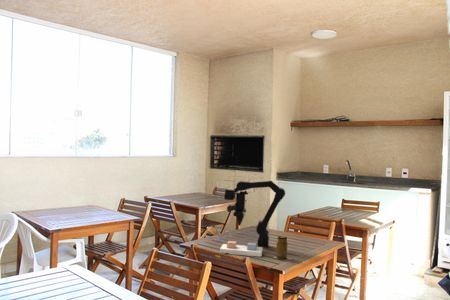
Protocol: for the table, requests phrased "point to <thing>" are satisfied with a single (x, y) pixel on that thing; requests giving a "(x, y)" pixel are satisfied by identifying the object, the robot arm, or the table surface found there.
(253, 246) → the slate key
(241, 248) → the key panel
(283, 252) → the condiment
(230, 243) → the terracotta key
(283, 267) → the table surface
